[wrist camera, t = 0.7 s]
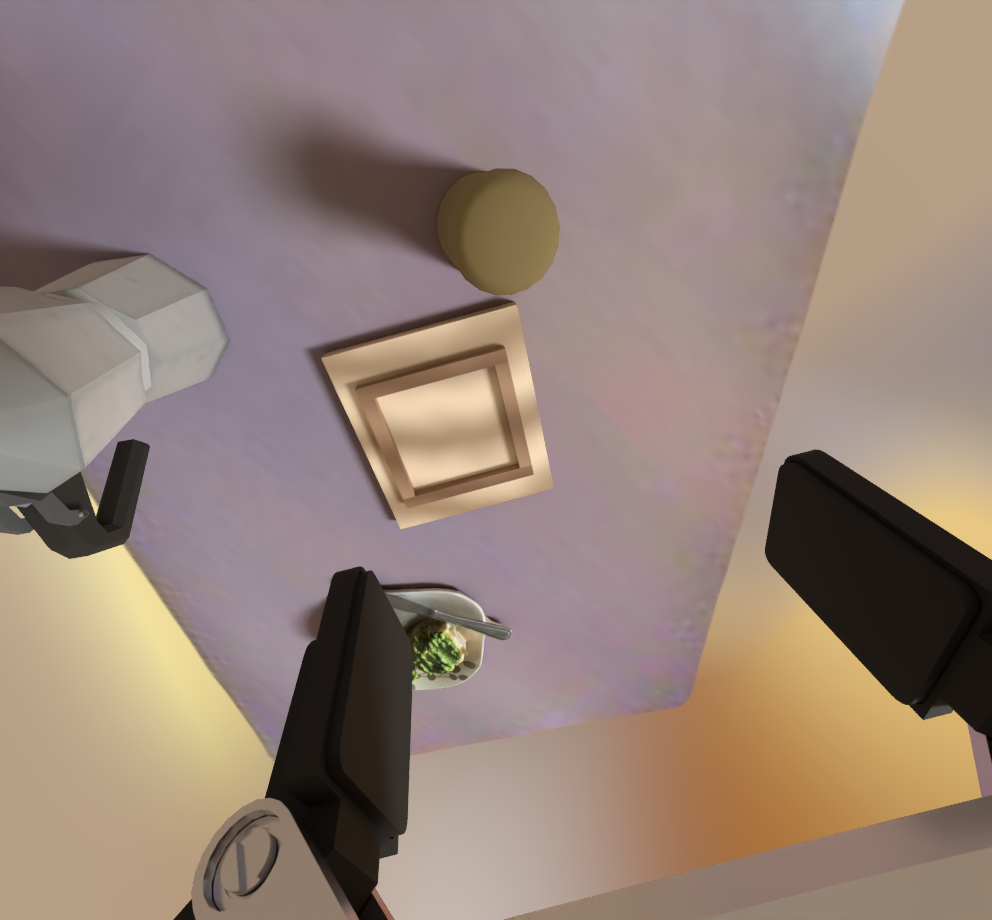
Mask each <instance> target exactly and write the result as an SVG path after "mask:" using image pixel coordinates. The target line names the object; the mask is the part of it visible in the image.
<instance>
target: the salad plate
mask: <svg viewBox="0 0 992 920" xmlns="http://www.w3.org/2000/svg"><path fill="white" fill-rule="evenodd" d="M383 591H384V593H385V594H386V596H387V598H388V600H389V602H390V604H391V606H392V608H393V609H394V611H395V613H396V615H397V617H398V619H399V621H400V622H401V624H402V626H403V628H404V630H405V632H406V634H407V636H408V637H409V639H410V642H411V645H412V649H413V678H412V691H415V690H430V689H439V688H447V687H452V686H456V685H458V684H460V683H462V682H464V681H466V680H467V679H469V678H470V677H471V676H472V675H474V674H475V673H476V672H477V671H478V669H479V668H480V666H481V663H482V656H483V651H484V640H485V638H486V636H490V637H493V638H496V639H500V640H506V639H508V638H510V636H511V635H512V630H511V629H510V628H509V627H507V626H504V625H502V624H498V623H496V622H493V621H491V620H490V619H489V618H487V617H486V615H485V613H484V611H483V609H482V608H481V606H480V605H479V604H478V603H476V602H475V601H474V600H472V599H471V598H469V597H468V596H466V595H465V594H463V593H462V592H460V591H456V590H450V589H441V588H423V589H383ZM417 668H418V669H419V670H418V671H416V669H417Z"/></svg>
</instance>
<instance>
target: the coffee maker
mask: <svg viewBox="0 0 992 920" xmlns="http://www.w3.org/2000/svg"><path fill="white" fill-rule="evenodd" d="M229 341H230V339H229V337H228V335H227V332H226V330H225V328H224V326H223V323H222V321H221V319H220V317H219V314H218V312H217V310H216V308H215V305H214V303H213V301H212V299H211V296H210V294H209V292H208V290H207V288H205V287H204V286H202V285H200V284H199V283H197V282H195V281H194V280H192V279H190V278H189V277H187V276H186V275H184V274H182V273H181V272H179V271H177V270H176V269H174V268H172V267H171V266H169V265H167V264H166V263H164V262H163V261H161V260H159V259H158V258H156V257H154V256H153V255H151V254H144V255H137V256H130V257H123V258H116V259H109V260H102V261H95V262H92V263H90V264H88V265H86V266H84V267H82V268H80V269H78V270H76V271H74V272H72V273H70V274H68V275H66V276H63V277H61V278H59V279H57V280H55V281H53V282H51V283H49V284H47V285H45V286H43V287H41V288H39V289H37V290H35V291H30V290H26V289H23V288H20V287H1V286H0V532H1V533H9V534H17V535H18V534H24V533H30V532H31V531H32V530H33V529H34V530H35V531H36V532H37V533H38V535H39V536H40V537H41V538H42V539H43V541H44V542H45V544H46V545H47V546H48V547H49V548H50V549H51V550H52V551H55V552H57V553H59V554H61V555H63V556H65V557H67V558H69V559H71V558H77V557H83V556H89V555H91V554H95V553H97V552H101V551H103V550H106V549H110V548H112V547H116V546H118V545H122V544H124V543H125V542H126V540H127V539H128V538H129V535H130V531H131V527H132V522H133V518H134V514H135V509H136V505H137V500H138V496H139V492H140V487H141V483H142V479H143V474H144V470H145V465H146V461H147V457H148V452H149V448H150V446H149V445H148V444H146V443H143V442H140V441H137V440H134V439H132V440H126V441H120V442H118V444H117V447H116V450H115V454H114V457H113V461H112V464H111V467H110V471H109V474H108V478H107V481H106V484H105V488H104V491H103V495H102V498H101V501H100V505H99V508H98V512H97V515H96V516H95V513H94V510H93V507H92V504H91V501H90V498H89V495H88V492H87V489H86V487H85V484H84V481H83V478H82V475H81V472H80V471H82V470H83V469H84V468H85V467H86V466H87V465H88V464H89V463H90V462H91V461H92V460H93V459H94V458H95V457H96V456H97V455H98V453H99V452H100V451H101V450H102V449H103V448H104V447H105V446H106V445H107V444H108V443H109V442H110V440H111V439H112V438H113V437H114V436H115V435H116V434H117V433H118V432H119V431H120V430H121V429H122V428H123V426H124V425H125V424H126V423H127V422H128V421H129V420H130V419H131V418H132V417H133V416H134V415H135V413H136V412H137V411H138V410H139V409H140V408H141V407H142V406H143V405H144V404H145V403H147V402H150V401H152V400H155V399H158V398H160V397H163V396H165V395H168V394H171V393H173V392H176V391H178V390H181V389H184V388H186V387H189V386H192V385H194V384H197V383H199V382H202V381H205V380H207V379H210V378H211V377H212V375H213V373H214V371H215V369H216V367H217V365H218V363H219V361H220V359H221V357H222V355H223V353H224V351H225V349H226V347H227V345H228V343H229ZM9 506H16V507H17V508H18V509H19V510H20V512H21V513H22V514H23V516H24V517H25V518H23V519H22V518H20V517H18V516H17V514H15V513H14V512H13V511H12V510H11V509H10V508H9Z"/></svg>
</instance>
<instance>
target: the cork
mask: <svg viewBox="0 0 992 920" xmlns="http://www.w3.org/2000/svg"><path fill="white" fill-rule="evenodd" d="M559 228H560V227H559V222H558V217H557V212H556V207H555V205H554V203H553V201H552V200H551V198H550V196H549V194H548V192H547V190H546V189H545V188H544V187H543V186H542V185H541V184H540V183H539V182H538V181H537V180H535V179H534V178H533V177H532V176H530V175H528V174H526V173H523V172H521V171H518V170H516V169H493V170H491V171H488V172H474V173H471V174H469V175H466V176H464V177H461V178H460V179H458V180H457V181H456V182H455V183H454V184H453V185H452V186H451V187H449V188H448V190H447V192H446V194H445V195H444V197H443V199H442V201H441V202H440V206H439V211H438V215H437V235H438V238H439V241H440V244H441V247H442V250H443V252H444V253H445V255H446V256H447V257H448V259H449V260H450V262H451V263H452V264H453V265H454V266H456V267H457V268H458V269H459V271H460V272H461V274H462V275H463V276H464V278H465V279H466V280H467V281H468V282H470V283H471V284H472V285H474V286H475V287H476V288H478V289H479V290H482V291H485V292H488V293H491V294H494V295H512V294H515V293H518V292H521V291H523V290H526V289H528V288H529V287H531V286H532V285H533V284H535V283H536V282H537V281H538V280H540V279H541V278H542V277H543V275H544V274H545V273H546V271H547V270H548V268H549V267H550V266H551V264H552V262H553V259H554V256H555V254H556V251H557V248H558V242H559Z"/></svg>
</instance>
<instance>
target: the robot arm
mask: <svg viewBox="0 0 992 920" xmlns="http://www.w3.org/2000/svg"><path fill="white" fill-rule="evenodd" d="M765 554H766V557H767V560H768V562H769V563H770V564H771V566H772V567H773V568H774V569H775V570H776V571H777V572H778V573H779V574H780V576H781V577H782V578H784V580H785V581H786V582H787V583H788V584H789V585H790V586H791V587H792V588H793V589H794V590H795V592H796V593H798V595H799V596H800V597H801V598H802V599H803V600H804V601H805V602H806V604H807V605H809V607H810V608H811V609H812V610H813V611H814V612H815V613H816V614H817V615H818V616H819V618H821V620H822V621H823V622H824V623H825V624H826V625H827V626H828V627H829V628H830V629H831V630H832V632H834V634H835V635H836V636H837V637H838V638H839V639H840V640H841V641H842V642H843V643H844V644H845V646H847V648H848V649H849V650H850V651H851V652H852V653H853V654H854V655H855V656H856V657H857V658H858V660H859V661H860V662H861V663H862V664H863V665H864V666H865V667H866V668H867V669H868V670H869V671H870V672H871V673H872V675H873V676H874V677H875V678H876V679H877V680H878V681H879V682H880V683H881V684H882V685H883V686H884V687H885V689H886V690H887V691H888V692H889V693H890V694H891V695H892V696H893V697H894V698H895V699H896V700H898V701H899V702H901V703H903V704H905V705H909V706H910V707H911V708H912V709H913V710H914V711H915V712H916V713H917V714H918V715H919V716H920V717H921V718H922V719H923V720H925V719H929V718H933V717H936V716H941V715H945V714H949V713H951V712H952V711H953V710H954V711H955V712H956V713H958V714H959V716H960V717H962V718H963V719H964V720H965V721H966V722H967V723H968V728H969V733H970V738H971V743H972V748H973V754H974V759H975V763H976V769H977V774H978V779H979V785H980V789H981V795H982V798H978V799H974V800H970V801H966V802H962V803H958V804H954V805H950V806H946V807H942V808H938V809H934V810H930V811H926V812H922V813H918V814H914V815H910V816H906V817H902V818H898V819H894V820H890V821H886V822H882V823H878V824H874V825H870V826H866V827H862V828H858V829H854V830H850V831H846V832H842V833H838V834H834V835H830V836H826V837H823V838H818V839H815V840H810V841H806V842H802V843H798V844H794V845H791V846H787V847H783V848H779V849H775V850H771V851H767V852H763V853H760V854H755V855H751V856H747V857H744V858H740V859H736V860H732V861H728V862H724V863H720V864H716V865H712V866H708V867H704V868H700V869H696V870H692V871H689V872H685V873H681V874H677V875H673V876H669V877H665V878H661V879H658V880H654V881H650V882H646V883H642V884H638V885H634V886H631V887H627V888H623V889H619V890H615V891H611V892H608V893H604V894H600V895H596V896H592V897H588V898H584V899H580V900H577V901H573V902H569V903H565V904H562V905H558V906H554V907H550V908H546V909H542V910H538V911H534V912H530V913H527V914H523V915H519V916H515V917H512V918H508V919H505V920H992V560H991V559H989V558H988V557H986V556H985V555H983V554H981V553H980V552H978V551H977V550H975V549H974V548H972V547H971V546H969V545H967V544H966V543H964V542H963V541H961V540H960V539H958V538H957V537H955V536H954V535H952V534H950V533H949V532H947V531H946V530H944V529H943V528H941V527H940V526H938V525H936V524H935V523H933V522H932V521H930V520H929V519H927V518H925V517H924V516H923V515H921V514H919V513H918V512H916V511H915V510H913V509H912V508H910V507H909V506H907V505H906V504H904V503H902V502H901V501H899V500H898V499H896V498H895V497H893V496H892V495H890V494H888V493H887V492H885V491H884V490H882V489H881V488H879V487H878V486H876V485H874V484H873V483H871V482H870V481H868V480H867V479H865V478H863V477H862V476H861V475H859V474H857V473H856V472H854V471H853V470H851V469H850V468H848V467H846V466H845V465H843V464H842V463H840V462H839V461H837V460H836V459H834V458H833V457H831V456H829V455H828V454H826V453H825V452H823V451H821V450H812V451H808V452H804V453H800V454H796V455H792V456H789V457H787V459H786V460H785V462H784V465H781V467H780V468H779V471H778V477H777V483H776V489H775V495H774V500H773V506H772V511H771V517H770V523H769V529H768V535H767V540H766V546H765ZM412 678H413V649H412V645H411V642H410V639H409V637H408V636H407V634H406V632H405V630H404V628H403V626H402V624H401V622H400V621H399V619H398V617H397V615H396V613H395V611H394V609H393V608H392V606H391V604H390V602H389V600H388V598H387V596H386V594H385V593H384V591H383V589H382V587H381V585H380V583H379V581H378V580H377V578H376V576H375V574H374V573H373V571H365V569H364V568H363V567H356V568H352V569H348V570H344V571H340V572H336V573H335V574H334V575H333V578H332V581H331V585H330V589H329V593H328V597H327V601H326V604H325V608H324V612H323V616H322V620H321V624H320V628H319V632H318V636H317V640H314V641H312V642H311V643H310V644H309V645H308V646H307V649H306V651H305V654H304V657H303V661H302V665H301V668H300V672H299V675H298V679H297V683H296V686H295V690H294V694H293V697H292V701H291V705H290V708H289V712H288V716H287V719H286V723H285V727H284V730H283V734H282V738H281V741H280V745H279V748H278V752H277V756H276V759H275V763H274V767H273V770H272V774H271V778H270V782H269V785H268V789H267V792H266V796H265V799H259V800H255V801H253V802H252V803H249V804H248V805H245V806H243V807H242V808H241V809H239V810H238V811H237V812H236V813H235V814H233V815H232V816H231V817H230V818H228V820H227V821H226V822H225V823H224V824H223V825H222V827H221V828H220V829H219V830H218V831H217V832H216V833H215V835H214V836H213V838H212V840H211V841H210V843H209V844H208V846H207V848H206V849H205V851H204V853H203V855H202V857H201V860H200V862H199V865H198V867H197V870H196V872H195V876H194V881H193V887H192V893H191V894H192V899H191V900H190V902H189V903H188V904H187V905H186V906H185V907H184V908H183V909H182V911H181V912H180V913H179V914H178V915H177V916H176V918H175V919H174V920H394V918H393V916H392V915H391V913H390V911H389V910H388V908H387V907H386V905H385V903H384V902H383V900H382V899H381V897H380V895H379V893H378V892H377V890H376V889H375V887H376V885H377V883H378V871H379V859H380V858H384V857H388V856H392V855H395V854H398V835H401V834H404V833H405V831H406V827H407V819H408V817H407V816H408V791H409V790H408V789H409V761H410V734H411V706H412Z"/></svg>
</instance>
